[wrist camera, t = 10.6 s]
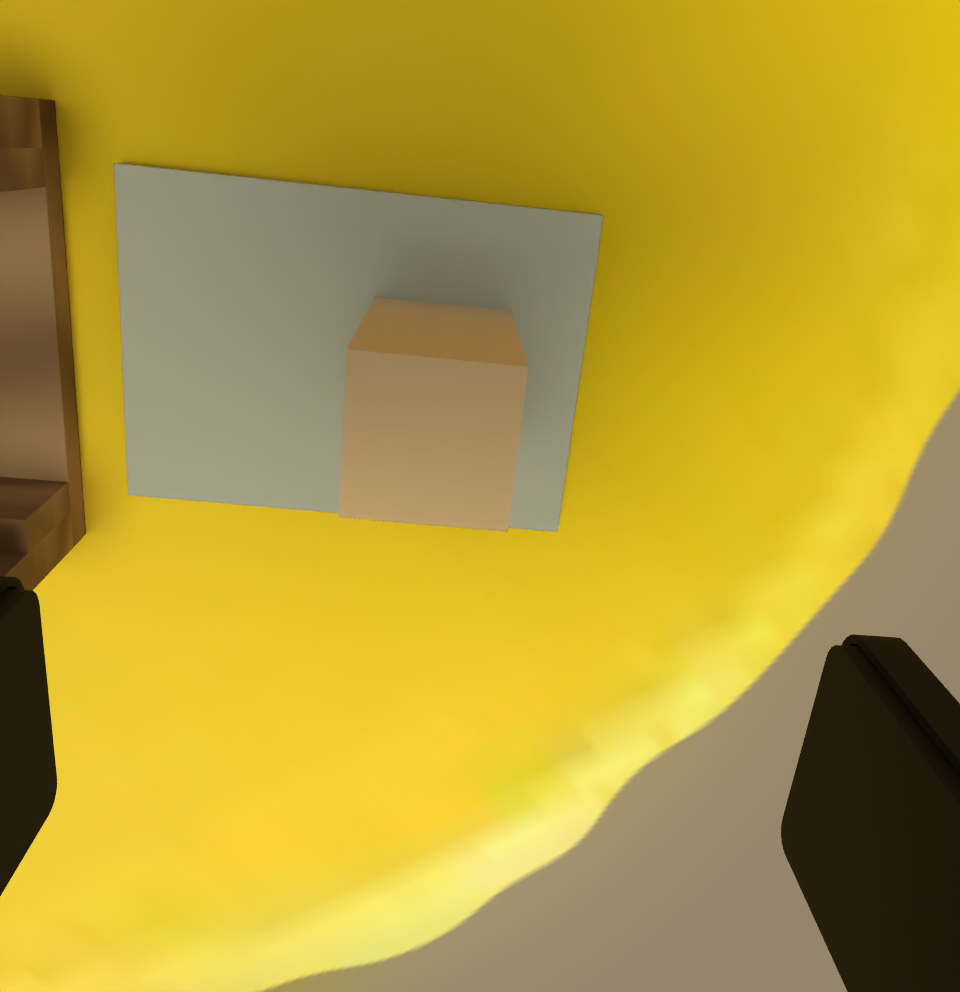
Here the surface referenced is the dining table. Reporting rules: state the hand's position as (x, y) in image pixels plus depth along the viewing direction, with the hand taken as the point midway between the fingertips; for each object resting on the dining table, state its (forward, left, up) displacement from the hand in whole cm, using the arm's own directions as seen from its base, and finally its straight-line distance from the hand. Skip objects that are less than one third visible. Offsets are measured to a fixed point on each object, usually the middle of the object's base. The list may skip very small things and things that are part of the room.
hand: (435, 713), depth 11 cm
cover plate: (0, -3, -19) cm, 19 cm away
